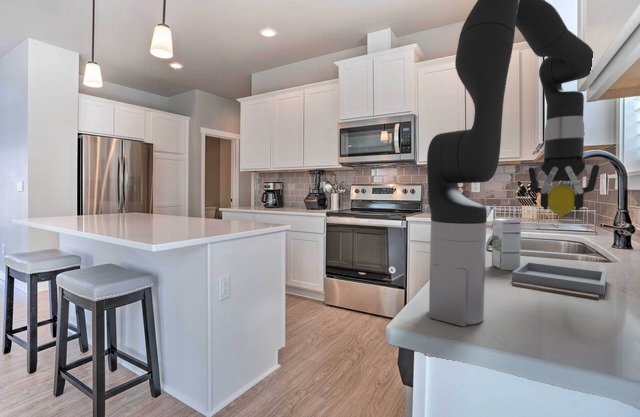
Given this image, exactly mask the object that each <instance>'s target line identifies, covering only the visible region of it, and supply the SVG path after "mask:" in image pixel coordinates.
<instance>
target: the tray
mask: <svg viewBox="0 0 640 417" xmlns="http://www.w3.org/2000/svg"><path fill="white" fill-rule="evenodd" d="M511 273H512V274H511V282H512V283H513V282H519V283H525V284H531V285H538V286H544V287H550V288H556V289H562V290H569V291H575V292H581V293H587V294H594V295H599V297H605V291H606V284H607V273H608V272H607V271H604V270H603V271H602V270H596V269H595V270H594V269H589V268H588V269H587V268H580V267H579V268H578V267H569V266H563V265H555V264H546V263H539V262H529V261H524V263H523V264H520V267H518V268H517V269H516V270H512V272H511Z"/></svg>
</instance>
